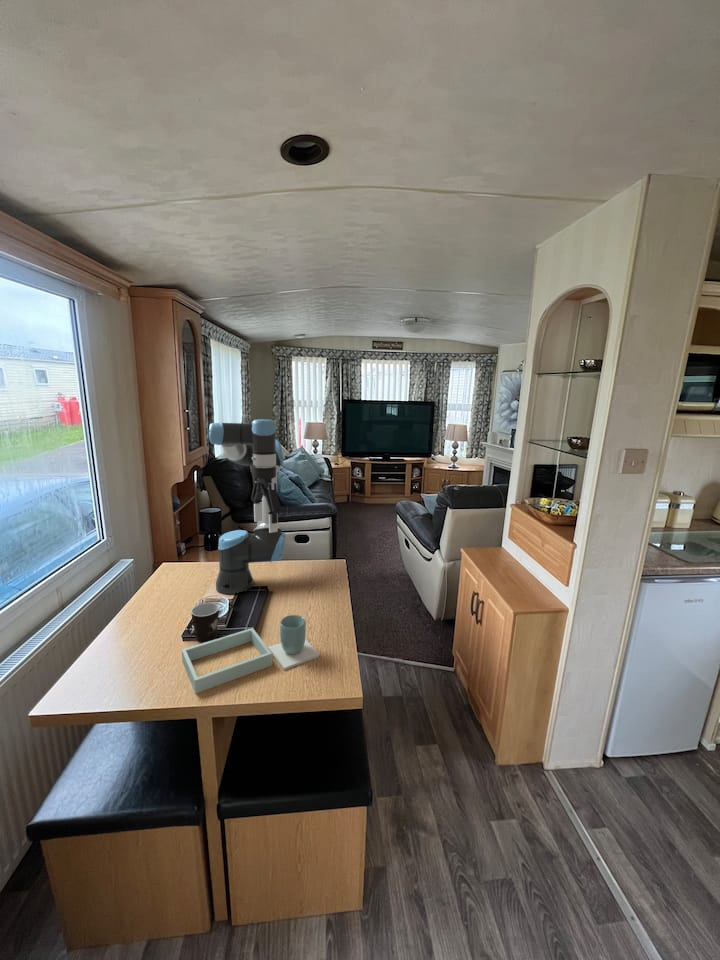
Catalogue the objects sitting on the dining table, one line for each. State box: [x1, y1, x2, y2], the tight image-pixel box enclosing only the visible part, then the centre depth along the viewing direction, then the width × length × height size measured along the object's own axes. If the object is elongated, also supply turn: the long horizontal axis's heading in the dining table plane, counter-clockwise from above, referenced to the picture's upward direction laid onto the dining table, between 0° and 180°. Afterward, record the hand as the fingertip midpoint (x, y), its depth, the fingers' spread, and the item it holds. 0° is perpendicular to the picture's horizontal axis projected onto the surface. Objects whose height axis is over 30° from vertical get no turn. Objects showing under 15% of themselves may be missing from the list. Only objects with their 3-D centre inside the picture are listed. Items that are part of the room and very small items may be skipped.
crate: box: [181, 627, 273, 695], centre depth 122 cm, size 16×22×4 cm
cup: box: [279, 614, 307, 654], centre depth 127 cm, size 8×8×10 cm
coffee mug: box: [187, 602, 220, 643], centre depth 133 cm, size 12×9×10 cm
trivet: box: [267, 638, 321, 671], centre depth 128 cm, size 12×12×1 cm
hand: (265, 526), depth 141 cm, fingers open, 13 cm apart
